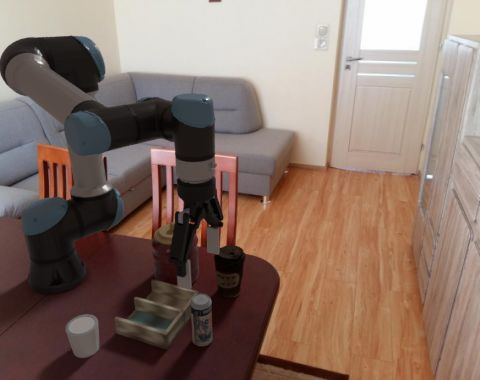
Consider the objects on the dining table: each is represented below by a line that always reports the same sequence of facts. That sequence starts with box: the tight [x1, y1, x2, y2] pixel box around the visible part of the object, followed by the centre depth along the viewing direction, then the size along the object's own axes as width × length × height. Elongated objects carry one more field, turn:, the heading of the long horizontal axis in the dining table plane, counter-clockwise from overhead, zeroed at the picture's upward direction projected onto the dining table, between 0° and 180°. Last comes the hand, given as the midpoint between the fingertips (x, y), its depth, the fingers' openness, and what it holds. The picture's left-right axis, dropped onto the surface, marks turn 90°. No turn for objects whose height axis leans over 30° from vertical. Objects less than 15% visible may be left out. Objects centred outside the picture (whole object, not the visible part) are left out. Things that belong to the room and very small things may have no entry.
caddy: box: [113, 278, 200, 351], centre depth 99 cm, size 14×16×4 cm
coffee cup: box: [213, 244, 247, 298], centre depth 108 cm, size 9×8×13 cm
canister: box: [151, 221, 200, 286], centre depth 113 cm, size 13×13×18 cm
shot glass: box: [65, 313, 100, 359], centre depth 90 cm, size 7×7×7 cm
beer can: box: [190, 292, 213, 347], centre depth 91 cm, size 5×5×12 cm
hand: (200, 268), depth 86 cm, fingers open, 13 cm apart
